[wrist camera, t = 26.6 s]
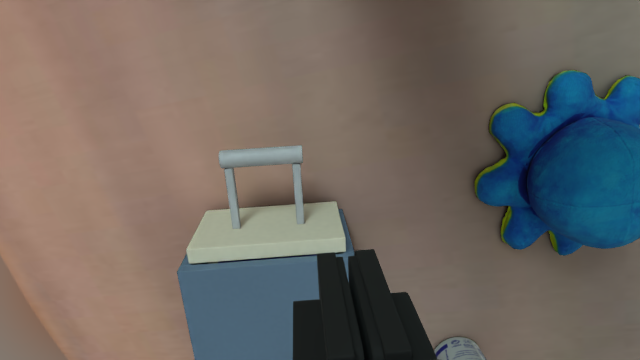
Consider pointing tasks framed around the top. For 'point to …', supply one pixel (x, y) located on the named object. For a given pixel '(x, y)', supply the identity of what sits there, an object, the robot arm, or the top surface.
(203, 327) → the cabinet
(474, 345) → the energy drink
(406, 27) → the top surface
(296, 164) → the drawer
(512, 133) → the plush toy
